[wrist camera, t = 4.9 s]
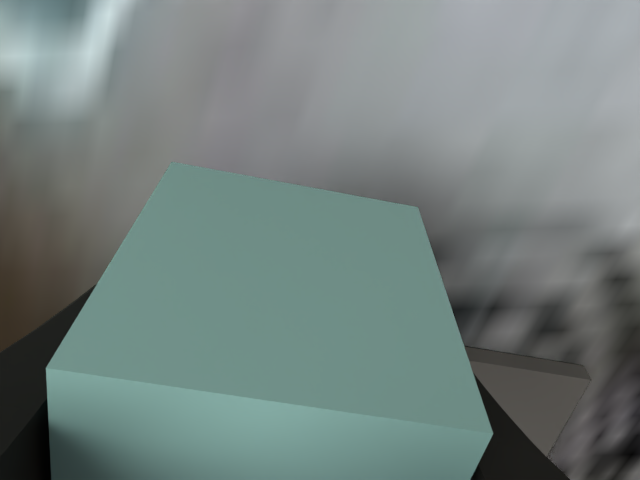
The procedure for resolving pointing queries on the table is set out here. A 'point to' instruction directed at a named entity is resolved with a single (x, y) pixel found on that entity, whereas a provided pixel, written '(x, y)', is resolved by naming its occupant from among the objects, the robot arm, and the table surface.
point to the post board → (531, 391)
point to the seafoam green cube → (266, 344)
